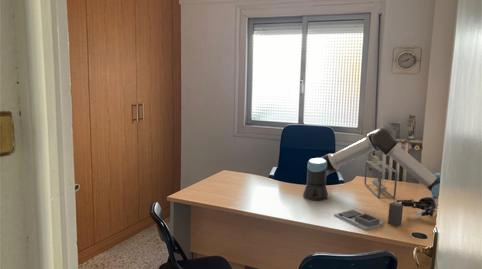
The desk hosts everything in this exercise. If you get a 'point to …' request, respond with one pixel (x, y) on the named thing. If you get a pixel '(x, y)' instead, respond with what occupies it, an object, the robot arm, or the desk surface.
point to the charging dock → (359, 219)
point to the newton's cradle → (378, 182)
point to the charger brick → (395, 214)
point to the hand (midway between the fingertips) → (404, 210)
